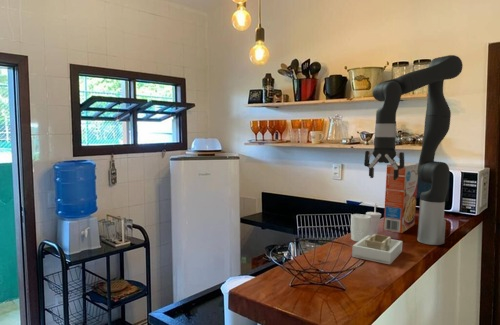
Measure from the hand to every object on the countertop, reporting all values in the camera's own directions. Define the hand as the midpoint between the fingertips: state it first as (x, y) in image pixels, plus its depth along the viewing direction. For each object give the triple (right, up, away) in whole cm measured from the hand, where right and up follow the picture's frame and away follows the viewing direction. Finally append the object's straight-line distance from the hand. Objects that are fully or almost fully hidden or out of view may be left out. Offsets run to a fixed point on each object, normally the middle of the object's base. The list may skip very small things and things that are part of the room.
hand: (383, 178), depth 148 cm
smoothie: (+2, -26, +20) cm, 33 cm away
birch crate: (-4, -26, -6) cm, 27 cm away
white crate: (-4, -27, -6) cm, 28 cm away
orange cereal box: (+20, -25, +37) cm, 49 cm away
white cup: (-6, -26, +12) cm, 29 cm away
